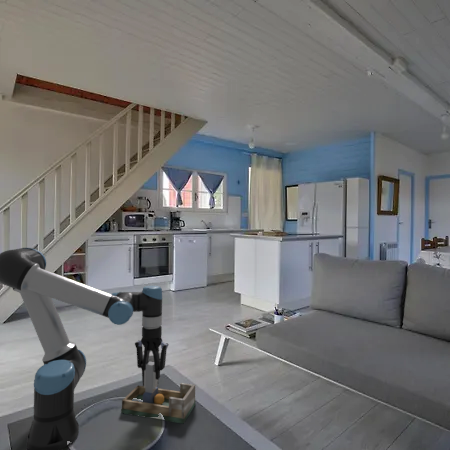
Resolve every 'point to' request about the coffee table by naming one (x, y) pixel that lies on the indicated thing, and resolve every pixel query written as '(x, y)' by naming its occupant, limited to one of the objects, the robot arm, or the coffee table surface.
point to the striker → (149, 384)
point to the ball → (159, 399)
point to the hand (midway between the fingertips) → (150, 386)
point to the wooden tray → (170, 409)
